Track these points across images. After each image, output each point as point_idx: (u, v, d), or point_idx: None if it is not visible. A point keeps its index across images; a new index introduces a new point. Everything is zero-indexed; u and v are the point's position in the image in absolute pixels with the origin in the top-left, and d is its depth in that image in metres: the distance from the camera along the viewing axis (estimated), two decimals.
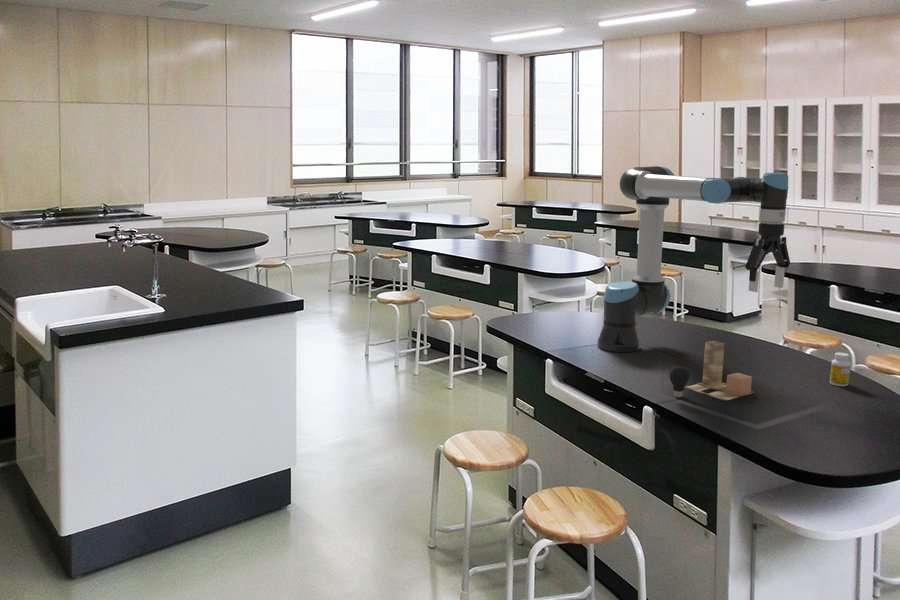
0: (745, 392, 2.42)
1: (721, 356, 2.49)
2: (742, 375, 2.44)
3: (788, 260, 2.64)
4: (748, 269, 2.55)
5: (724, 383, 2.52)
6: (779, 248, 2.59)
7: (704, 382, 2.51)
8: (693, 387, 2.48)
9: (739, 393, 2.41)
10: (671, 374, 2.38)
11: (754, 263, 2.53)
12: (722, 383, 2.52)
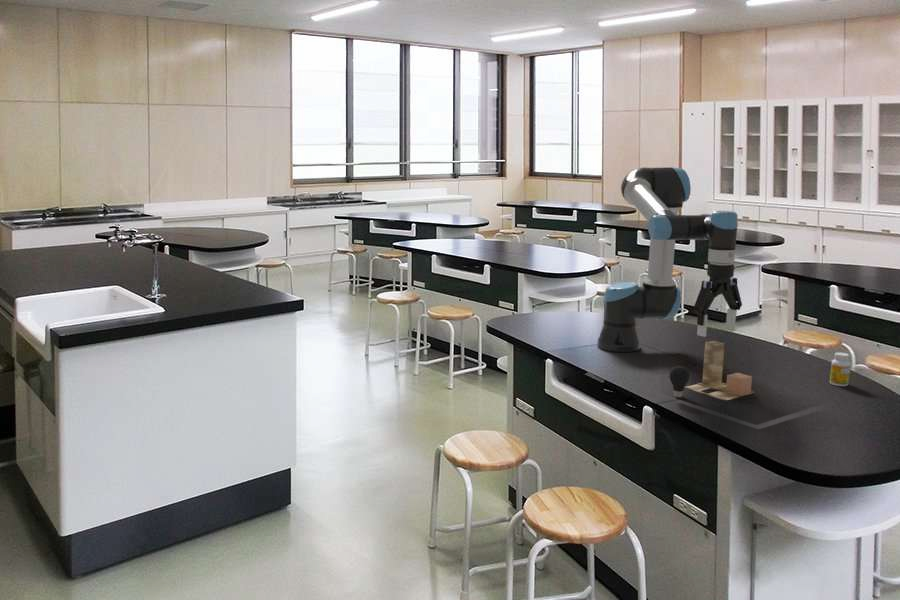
0: (745, 392, 2.42)
1: (721, 356, 2.49)
2: (742, 375, 2.44)
3: (740, 302, 2.51)
4: (696, 313, 2.42)
5: (724, 383, 2.52)
6: (729, 290, 2.46)
7: (704, 382, 2.51)
8: (693, 387, 2.48)
9: (739, 393, 2.41)
10: (671, 374, 2.38)
11: (702, 306, 2.40)
12: (722, 383, 2.52)
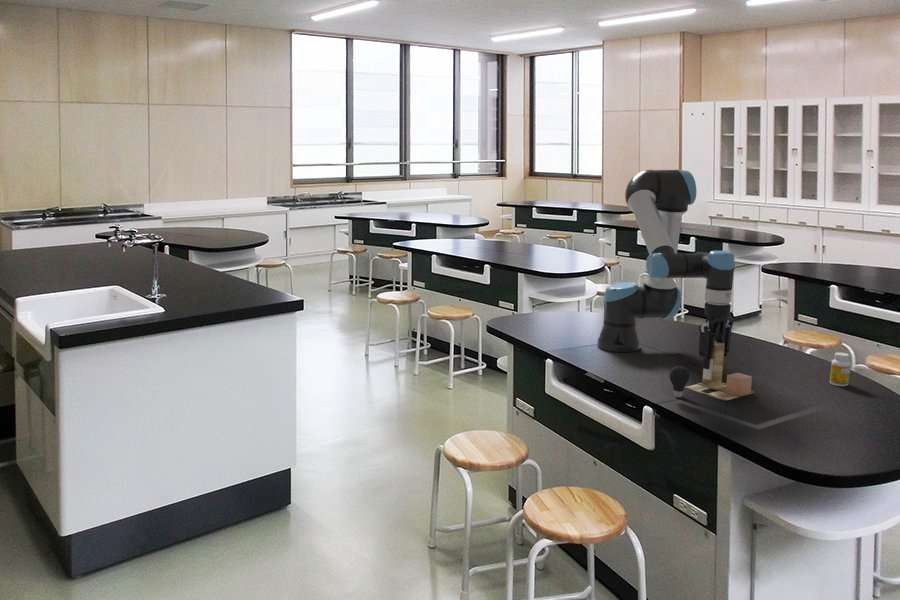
0: (745, 392, 2.42)
1: (721, 356, 2.49)
2: (742, 375, 2.44)
3: (728, 348, 2.51)
4: None
5: (724, 383, 2.52)
6: (724, 331, 2.48)
7: (704, 382, 2.51)
8: (693, 387, 2.48)
9: (739, 393, 2.41)
10: (671, 374, 2.38)
11: (706, 351, 2.45)
12: (722, 383, 2.52)
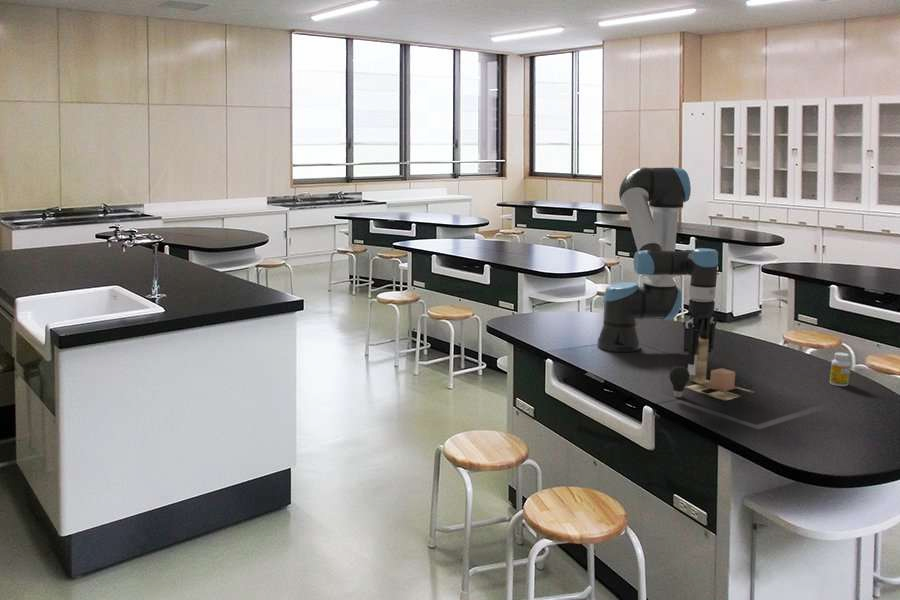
0: (728, 387, 2.47)
1: (705, 352, 2.54)
2: (726, 370, 2.48)
3: (712, 344, 2.56)
4: (686, 352, 2.52)
5: None
6: (708, 327, 2.53)
7: (689, 377, 2.56)
8: (693, 387, 2.48)
9: (722, 388, 2.45)
10: (671, 374, 2.38)
11: (690, 347, 2.50)
12: None
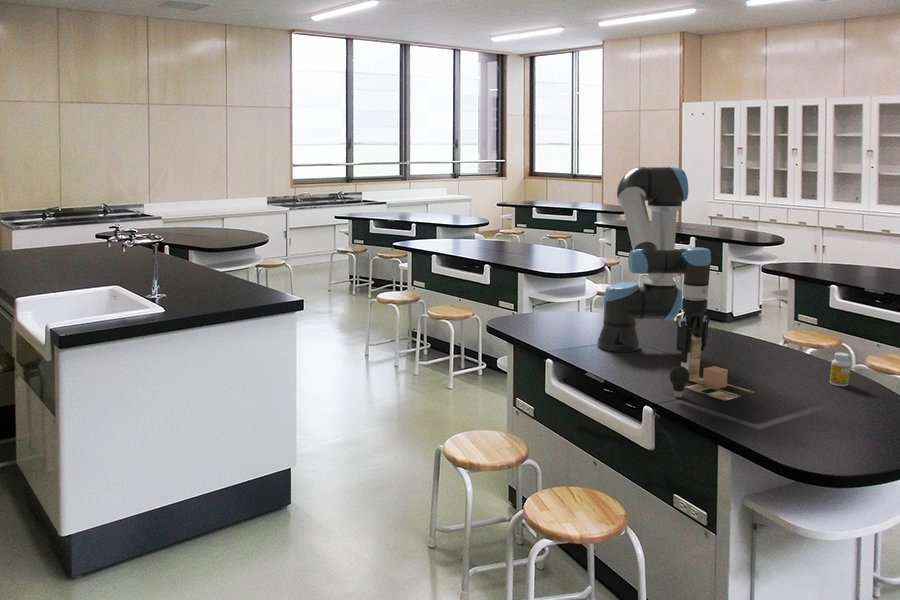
0: (721, 385, 2.49)
1: (698, 350, 2.56)
2: (718, 368, 2.50)
3: (705, 342, 2.58)
4: None
5: None
6: (701, 325, 2.55)
7: None
8: (693, 387, 2.48)
9: (715, 386, 2.48)
10: (671, 374, 2.38)
11: (683, 345, 2.52)
12: None
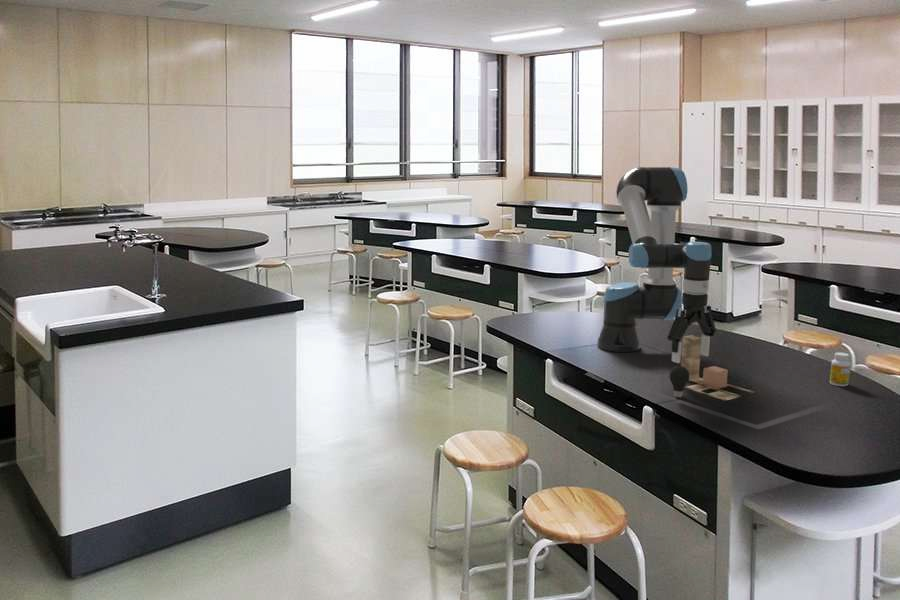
0: (721, 385, 2.49)
1: (698, 350, 2.56)
2: (718, 368, 2.50)
3: (714, 328, 2.60)
4: (670, 340, 2.52)
5: None
6: (703, 318, 2.55)
7: None
8: (693, 387, 2.48)
9: (715, 386, 2.48)
10: (671, 374, 2.38)
11: (676, 335, 2.50)
12: None
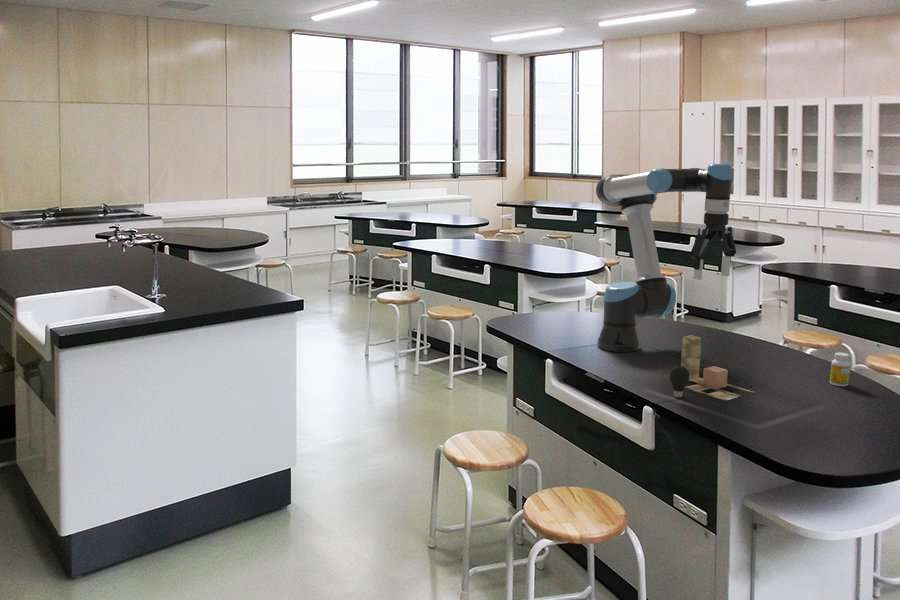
0: (721, 385, 2.49)
1: (698, 350, 2.56)
2: (718, 368, 2.50)
3: (734, 249, 2.70)
4: (692, 258, 2.62)
5: None
6: (724, 237, 2.66)
7: None
8: (693, 387, 2.48)
9: (715, 386, 2.48)
10: (671, 374, 2.38)
11: (698, 252, 2.60)
12: None
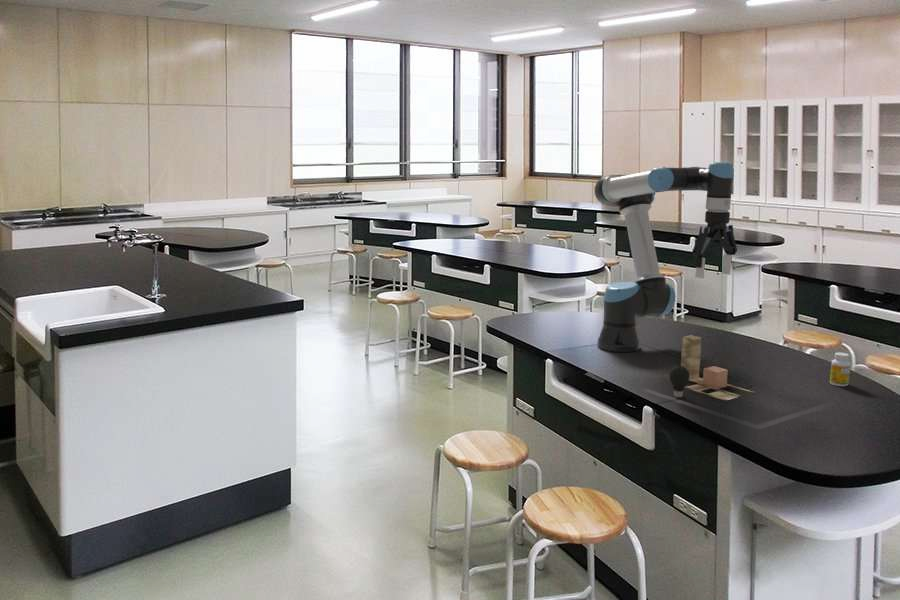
0: (721, 385, 2.49)
1: (698, 350, 2.56)
2: (718, 368, 2.50)
3: (735, 247, 2.71)
4: (694, 256, 2.63)
5: None
6: (725, 236, 2.66)
7: None
8: (693, 387, 2.48)
9: (715, 386, 2.48)
10: (671, 374, 2.38)
11: (700, 250, 2.61)
12: None
